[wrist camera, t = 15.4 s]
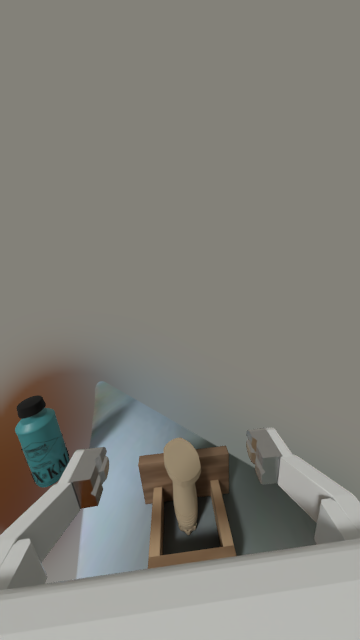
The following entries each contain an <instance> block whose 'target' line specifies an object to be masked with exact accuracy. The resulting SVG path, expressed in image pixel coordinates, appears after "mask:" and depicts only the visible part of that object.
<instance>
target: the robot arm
mask: <svg viewBox="0 0 360 640" xmlns="http://www.w3.org/2000/svg"><path fill="white" fill-rule="evenodd" d="M247 437H248V440H247V442H246V447H247V452H248V455H249V458H250V460H251V462H252V463H253V464H255V472H256V474H257V476H258V478H259V480H260V483H261V485H265V484H276V483H278V485H279V486H280V487H281V488H282V489H283V490H284V491H285V492H286V493H287V494H288V495H289V496H290V497H291V498H292V499H293V500H294V501H295V502H296V503H297V504H298V505H299V506H300V507H301V508H302V509H303V510H304V511H305V512H306V513H307V514H308V515H309V516H310V517H311V518H312V519H313V520H314V521H315V522H316V523H317V525H316V531H315V536H314V540H315V542H316V544H317V545H310V546H303V547H296V548H289V549H282V550H275V551H268V552H262V553H255V554H248V555H241V556H234V557H227V558H220V559H213V560H206V561H199V562H192V563H185V564H178V565H171V566H164V567H157V568H150V569H143V570H136V571H129V572H122V573H115V574H108V575H101V576H94V577H87V578H81V579H74V580H67V581H60V582H53V583H47V584H45V582H46V579H47V574H46V571H45V570H44V567H43V565H42V561H43V560H44V559H45V557H46V556H47V555H48V553H49V552H50V551H51V549H52V548H53V547H54V545H55V544H56V542H57V541H58V540H59V538H60V537H61V536H62V534H63V533H64V532H65V530H66V529H67V527H68V526H69V525H70V523H71V522H72V520H73V519H74V518H75V517H76V515H77V514H78V513H79V511H80V509H82V508H88V507H94V506H98V504H99V501H100V498H101V494H102V491H103V487H102V484H103V482H104V481H105V480H106V478H107V475H108V470H109V460H108V457H106V456H105V455H106V452H107V451H106V448H105V447H101V448H90V449H80V450H76V451H75V452H74V454H73V456H72V458H71V459H70V461H69V463H68V465H67V467H66V469H65V470H64V472H63V474H62V476H61V478H60V480H59V482H58V484H55V485H53V486H52V487H51V488H50V489H49V490H48V491H47V492H46V493H45V494H44V495H43V496H42V497H41V498H39V499H38V500H37V501H36V502H35V503H34V504H33V505H32V506H31V507H30V508H29V509H28V510H27V511H26V512H25V513H24V514H22V515H21V516H20V517H19V518H18V519H17V520H16V521H15V522H14V523H13V524H12V525H11V526H10V527H9V528H8V529H6V530H5V531H4V532H3V533H2V534H1V535H0V640H360V502H359V501H358V499H357V498H356V497H355V496H354V494H352V493H351V492H349V491H348V490H346V489H345V488H344V487H342V486H341V485H339V484H338V483H336V482H335V481H333V480H332V479H330V478H329V477H327V476H326V475H325V474H323V473H322V472H320V471H319V470H317V469H316V468H314V467H313V466H311V465H310V464H309V463H307V462H306V461H304V460H303V459H301V458H300V457H298V456H297V455H293V454H292V453H291V451H290V450H289V448H288V447H287V445H286V444H285V442H284V441H283V440H282V438H281V437H280V435H279V434H278V432H277V431H276V430H275V428H273V427H270V428H260V429H253V430H247Z"/></svg>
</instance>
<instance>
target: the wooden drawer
mask: <svg viewBox="0 0 360 640" xmlns="http://www.w3.org/2000/svg"><path fill="white" fill-rule="evenodd" d="M195 450H196V451H197V453H198V456H199V460H200V466H201V473H200V476H199V478H198V480H197V481H196V482H195V487H196V493H197V497H204V496H211V498H212V504H213V509H214V514H215V520H216V525H217V530H218V536H219V541H220V546H221V547H217V548H210V549H203V550H196V551H189V552H182V553H175V554H168V555H163V532H164V502H166V501H174V500H173V480H172V479H171V478H170V477H169V475H168V473H167V471H166V468H165V464H164V453H162V454H153V455H145V456H140V458H139V464H138V466H139V471H140V477H141V482H142V487H143V492H144V498H145V503H146V504H151V503H153V506H152V520H151V533H150V547H149V561H148V569H150V568H157V567H164V566H171V565H178V564H185V563H192V562H199V561H206V560H213V559H220V558H227V557H234V556H236V552H235V548H234V544H233V539H232V535H231V531H230V527H229V523H228V518H227V514H226V510H225V506H224V502H223V497H222V494H227V493H229V453H228V450H227V448H226V446H220V447H212V448H203V449H195Z"/></svg>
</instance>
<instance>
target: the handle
mask: <svg viewBox="0 0 360 640" xmlns="http://www.w3.org/2000/svg"><path fill="white" fill-rule="evenodd" d="M164 464H165V468H166V471H167V473H168V475H169V477H170V478H171V479H172V480H173V500H174V508H175V513H176V517H177V521H178V525H179V528H180V530H181V531H184V532H185V533H186V534H187V535H190V534H191V532H192V531H193V530H195V529H196V526H197V523H196V521H197V515H198V502H197V493H196V487H195V482H196V481H197V480H198V478H199V476H200V473H201V466H200V460H199V456H198V453H197V451H196V450H195V448H194V447H193V446H192V444H191V443H189V442H188V441H186V440H184V439H183V438H176V439H173V440H171V441H170V442H168V443H167V444H166V446H165V447H164Z"/></svg>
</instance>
